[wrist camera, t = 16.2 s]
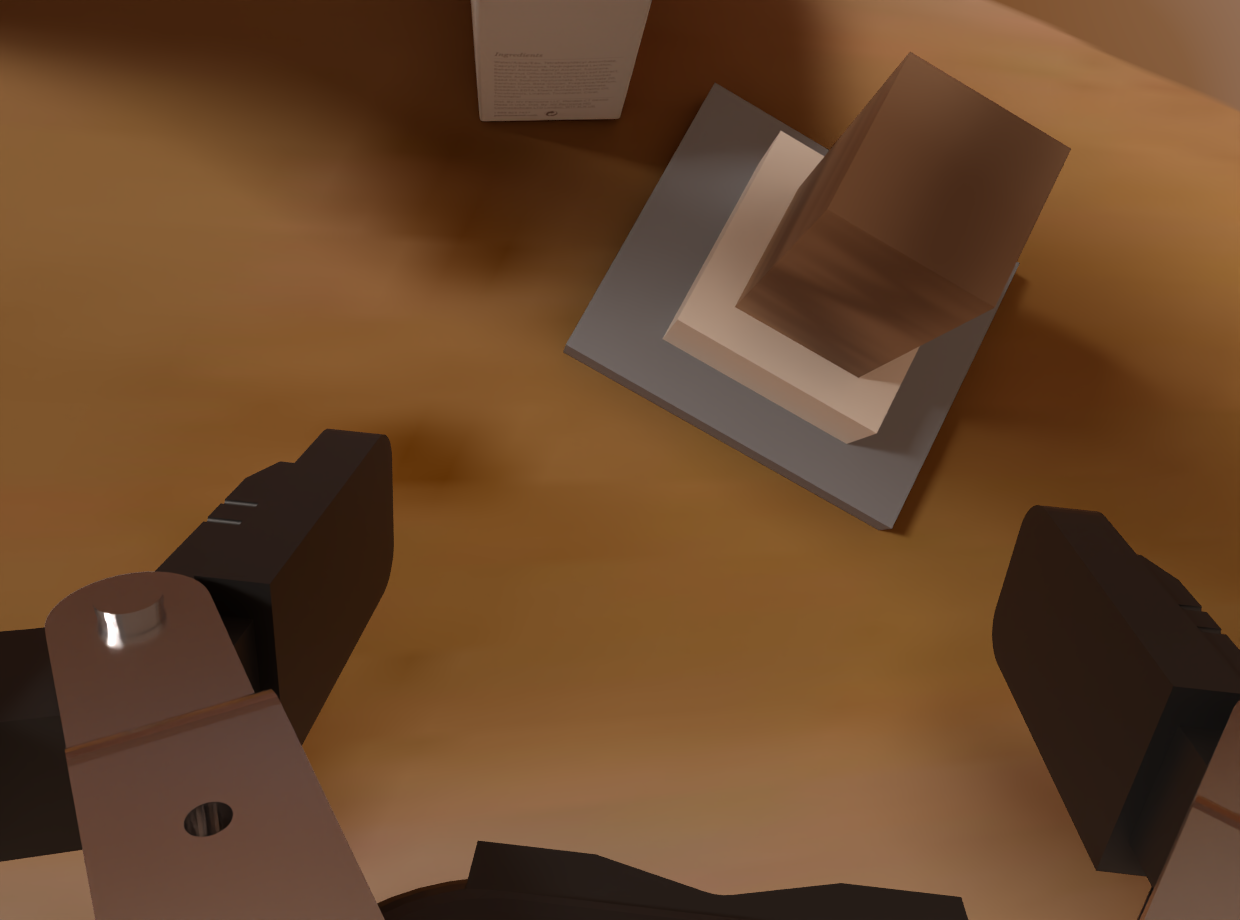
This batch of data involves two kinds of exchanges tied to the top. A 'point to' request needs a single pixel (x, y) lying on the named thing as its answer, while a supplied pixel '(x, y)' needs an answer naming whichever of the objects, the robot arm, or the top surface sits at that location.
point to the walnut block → (905, 222)
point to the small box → (555, 57)
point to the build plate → (719, 399)
